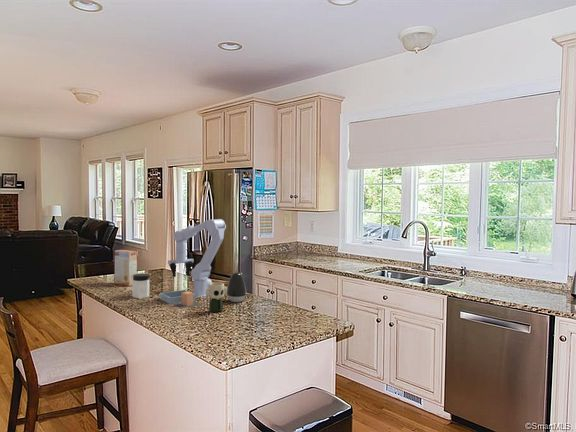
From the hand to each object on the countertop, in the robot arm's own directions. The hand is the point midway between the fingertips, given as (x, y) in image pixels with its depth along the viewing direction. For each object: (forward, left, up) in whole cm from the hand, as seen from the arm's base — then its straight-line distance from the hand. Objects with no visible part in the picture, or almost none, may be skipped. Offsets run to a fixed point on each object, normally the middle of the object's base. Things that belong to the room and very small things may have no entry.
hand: (180, 276), depth 242 cm
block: (+9, +30, -9) cm, 32 cm away
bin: (+9, +17, -9) cm, 21 cm away
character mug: (+2, +47, -10) cm, 48 cm away
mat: (+9, +30, -9) cm, 33 cm away
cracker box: (+19, -39, -10) cm, 44 cm away
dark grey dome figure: (-16, +35, -10) cm, 40 cm away
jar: (+22, -1, -10) cm, 24 cm away
